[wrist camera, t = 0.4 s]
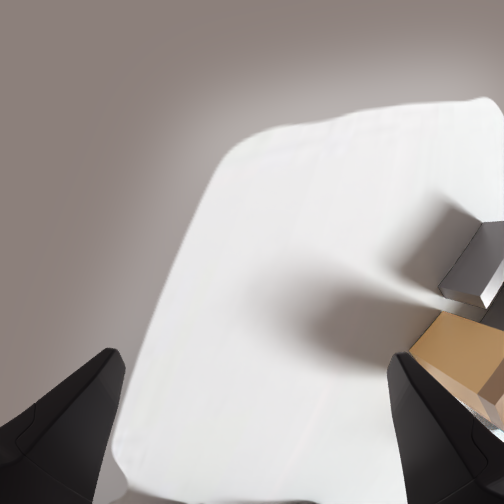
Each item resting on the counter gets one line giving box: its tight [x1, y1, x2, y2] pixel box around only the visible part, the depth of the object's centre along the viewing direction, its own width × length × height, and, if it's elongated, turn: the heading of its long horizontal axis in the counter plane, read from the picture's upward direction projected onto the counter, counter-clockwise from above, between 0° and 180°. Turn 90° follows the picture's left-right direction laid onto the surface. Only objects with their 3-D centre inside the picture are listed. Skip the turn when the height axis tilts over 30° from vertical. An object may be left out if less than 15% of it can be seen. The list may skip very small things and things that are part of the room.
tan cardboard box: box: [409, 311, 504, 432], centre depth 17 cm, size 5×5×12 cm
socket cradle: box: [438, 221, 504, 331], centre depth 21 cm, size 9×9×6 cm
